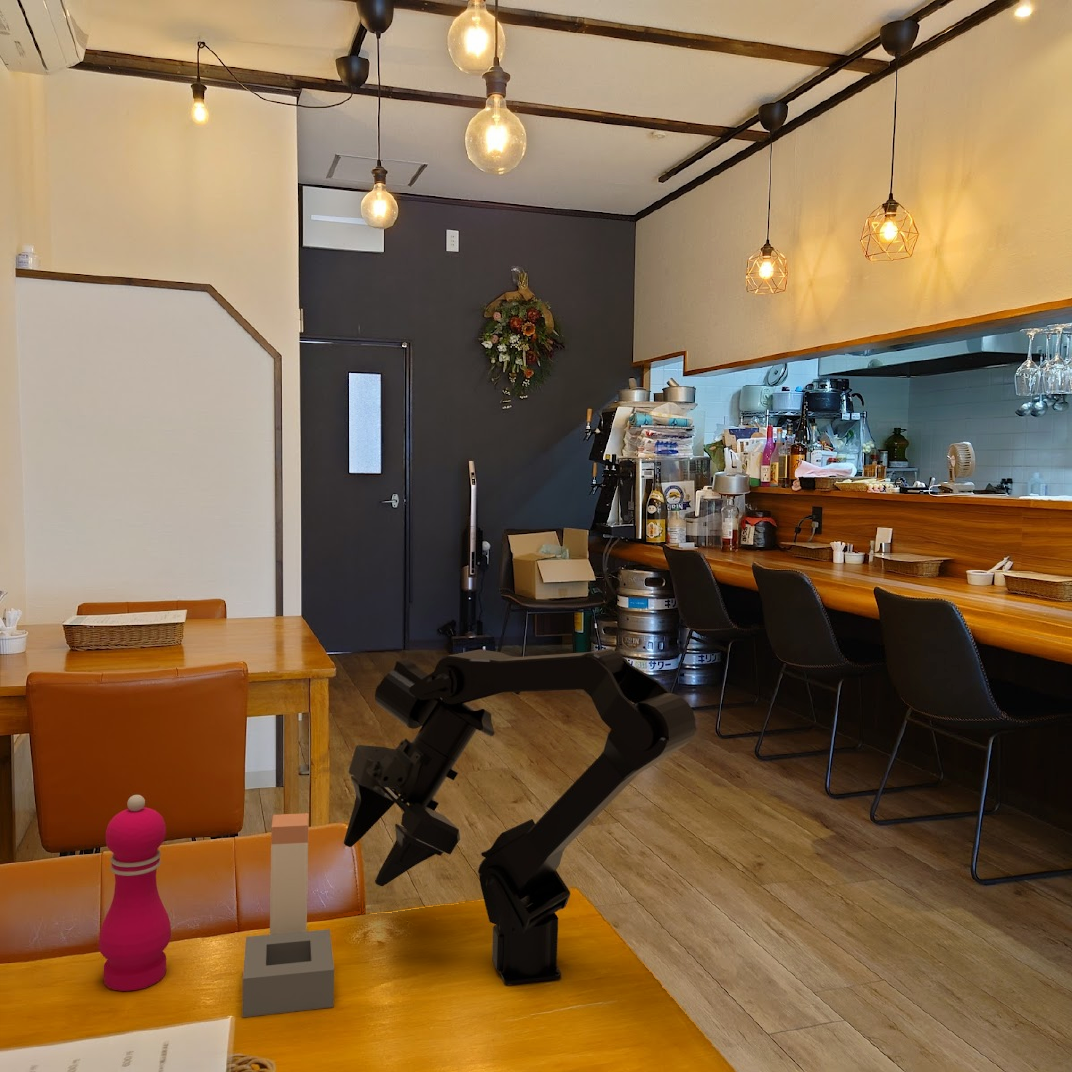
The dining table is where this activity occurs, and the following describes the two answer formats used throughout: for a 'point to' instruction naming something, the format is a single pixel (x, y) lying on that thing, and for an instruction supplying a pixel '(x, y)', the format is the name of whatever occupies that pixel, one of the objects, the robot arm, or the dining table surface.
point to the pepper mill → (135, 901)
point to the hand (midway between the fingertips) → (362, 864)
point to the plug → (289, 873)
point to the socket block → (288, 973)
